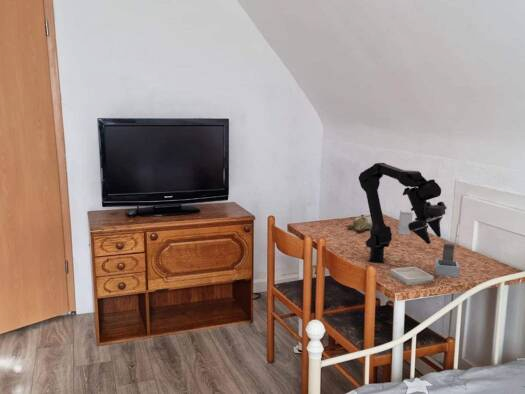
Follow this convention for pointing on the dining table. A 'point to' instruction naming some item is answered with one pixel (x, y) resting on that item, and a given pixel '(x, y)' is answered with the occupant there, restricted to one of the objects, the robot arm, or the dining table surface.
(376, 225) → the robot arm
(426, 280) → the tray
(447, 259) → the dark grey pillar
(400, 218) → the skincare box
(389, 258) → the dining table surface
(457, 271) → the square frame
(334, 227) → the dining table surface
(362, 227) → the ceramic sculpture
